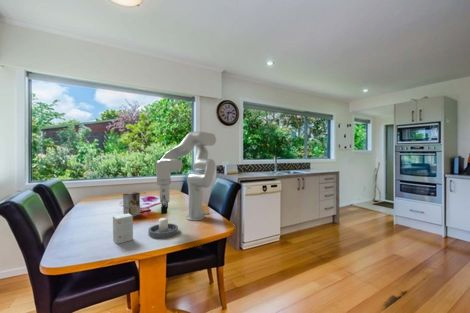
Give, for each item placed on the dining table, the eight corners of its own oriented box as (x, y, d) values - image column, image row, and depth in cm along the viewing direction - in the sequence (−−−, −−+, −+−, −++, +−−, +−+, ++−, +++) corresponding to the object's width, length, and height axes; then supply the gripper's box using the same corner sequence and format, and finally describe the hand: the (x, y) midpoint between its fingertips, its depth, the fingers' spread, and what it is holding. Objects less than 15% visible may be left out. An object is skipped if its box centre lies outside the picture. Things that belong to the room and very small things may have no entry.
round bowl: (177, 227, 139) (177, 222, 139) (177, 237, 124) (178, 232, 124) (150, 229, 135) (150, 224, 135) (146, 239, 120) (146, 234, 120)
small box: (129, 236, 124) (128, 212, 123) (133, 240, 119) (133, 215, 119) (112, 240, 118) (112, 215, 118) (116, 244, 114) (116, 218, 113)
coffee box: (134, 213, 168) (134, 191, 167) (140, 214, 165) (140, 192, 164) (123, 216, 160) (122, 193, 159) (128, 217, 157) (128, 194, 156)
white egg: (168, 229, 133) (168, 217, 132) (167, 232, 128) (167, 220, 128) (159, 230, 131) (159, 218, 131) (158, 233, 127) (158, 221, 126)
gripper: (170, 184, 121) (171, 215, 123) (171, 178, 138) (171, 206, 139) (155, 185, 119) (156, 216, 121) (158, 179, 136) (159, 207, 138)
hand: (164, 211), depth 130 cm, fingers open, 9 cm apart
